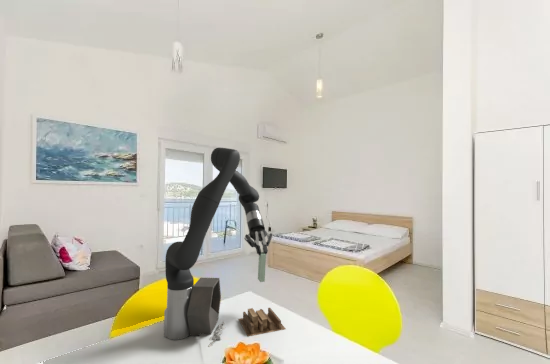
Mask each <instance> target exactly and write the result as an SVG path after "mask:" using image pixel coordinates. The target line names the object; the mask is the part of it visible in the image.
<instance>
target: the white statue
mask: <svg viewBox="0 0 550 364" xmlns="http://www.w3.org/2000/svg"><path fill="white" fill-rule="evenodd" d="M225 324H226V323H225V321H222V323H220V324H218V326H217V328H216V330H213V332H212V336H211V337H210V339H209V341H210V342H209V345H208V346H207V347H208V348H210V347H212V346H213V344H215V342H216V341H221V340H222V336H221V335H222V334H223V331H224V330H225V329H226V327H225ZM212 340H213V341H212ZM211 341H212V342H211Z"/></svg>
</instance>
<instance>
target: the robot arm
mask: <svg viewBox="0 0 550 364" xmlns="http://www.w3.org/2000/svg"><path fill="white" fill-rule="evenodd" d="M240 161H241V154H240V152H239V151H238V150H237V149H233V148H227V147H216V148H214V149H213V150H212V152H211V155H210V162H211V164H212V166H213V167H214V168H215V169H216V170H217V171H218V172H219V173H218V174H217V175H216V176H215V178H214V179H212V181H210V182H209V183H207V185H205V186H204V187H202V189H200V191H199V192H198V194H197V195H196V198H195V200H194V202H193V204H192V207H191V210H190V217H189V218H190V220H189V221H190V222H189V226H188V231H187V233H186V234H185V237H184V239H183V241H174V242H173V243H171V244H170V245H169V246H168V248H167V250H166V253H165V260H164V261H165V267H164V268H165V279H166V284H167V289H166V290H167V291H166V293H167V295H166V308H165V309H164V319H163V322H164V323H163V324H164V325H163V337H164V338H168V339H170V340H175V341H177V340H182V339H186V338H187V337H189V336H190V330H189V324H188V317H187V314H188V308H189V303H190V298H191V293H192V287H193V286H194V284H195V283H194V281H195V279H194V277H193V274H192V272H191V271H190V269H192V268H193V266H195V265H196V263H197V262H198V258H199V256H200V253H201V250H202V247H203V243H204V242H205V241H204V240H205V239H206V236H207V233H208V231H209V228H210V226H211V224H212V221H213V218H214V217H215V215H216V213H217V210H218V208H219V206H220V203H221V201H222V198H223V196H224V194H225V192H226V189H227V188H228V185H229V183H230V184H231V185H232V186H233V188H234V189H235V192H237V194H238V202H239V203H240V204H241V206H242V208H243V210H244V213H245V218H246V225H247V228H248V232H249V233H248V234H245V236H244V241H245V242H246V243H247V244H248V245H249V246H250V247H251V248H255V250H256V254H257V255H258V256H259V255H261V252H264V253H265V254H266V255H267V254H268V251H269V250H268V247H270V243H271V241H272V238H273V232H272V233H269V232H267V230H266V228H265V224H264V220H263V217H262V214H261V212H260V208H259V204H257V203H256V202H258V201H259V198H260V194H259V192H258V190H257V189H255V188H254V187H253V186H251V185H250V183H249V182H248V180H247V179H246V177H245V176H244V175H243V174H242V173H240V172H239V171H238V167H239V164H240ZM266 239H267V241H266ZM259 242H260V243H259ZM260 244H261V245H260ZM261 246H262V250H261Z"/></svg>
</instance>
